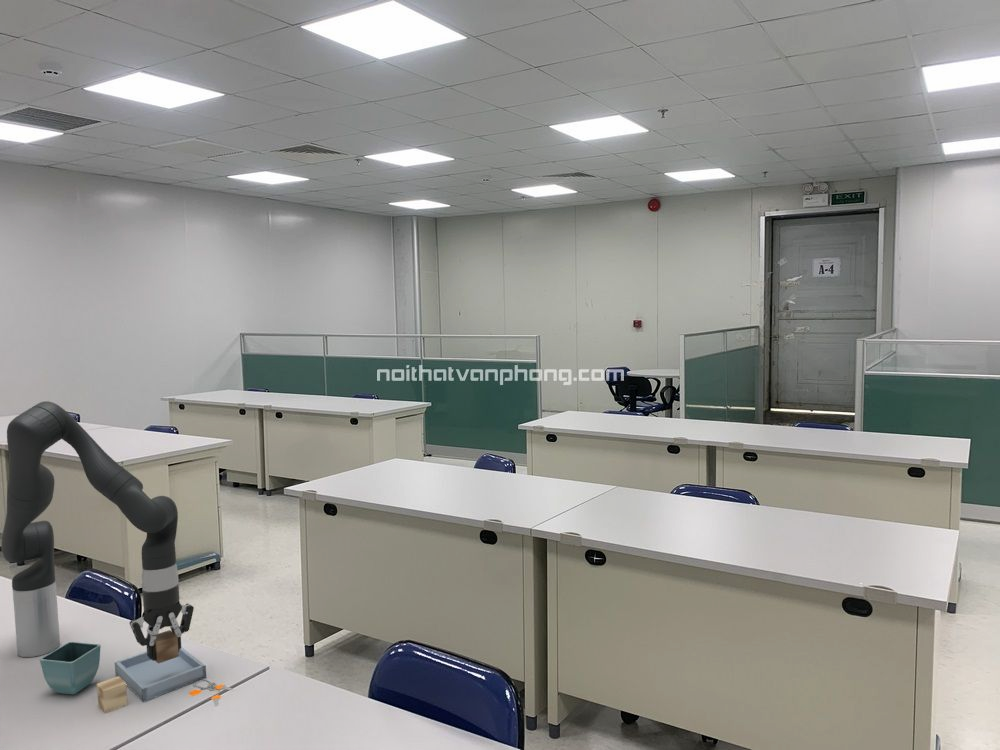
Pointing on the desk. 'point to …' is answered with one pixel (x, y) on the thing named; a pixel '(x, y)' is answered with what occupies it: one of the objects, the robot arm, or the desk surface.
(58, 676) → the flower pot
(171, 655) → the walnut block
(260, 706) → the desk surface
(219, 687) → the key chain
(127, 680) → the tray
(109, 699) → the oak block
